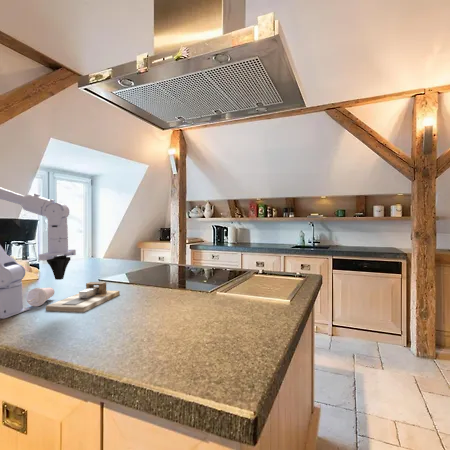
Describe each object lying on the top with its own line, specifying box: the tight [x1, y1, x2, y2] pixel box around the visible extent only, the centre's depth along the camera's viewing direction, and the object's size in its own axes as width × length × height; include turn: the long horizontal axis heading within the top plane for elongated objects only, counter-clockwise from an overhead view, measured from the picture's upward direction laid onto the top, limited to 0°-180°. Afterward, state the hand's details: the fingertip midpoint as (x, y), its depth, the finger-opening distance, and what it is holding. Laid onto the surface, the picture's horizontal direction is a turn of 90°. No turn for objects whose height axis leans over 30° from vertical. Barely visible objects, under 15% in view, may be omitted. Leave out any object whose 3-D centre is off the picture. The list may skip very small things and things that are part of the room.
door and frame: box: [45, 281, 121, 313], centre depth 107 cm, size 22×14×6 cm, turn 170°
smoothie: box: [26, 287, 55, 308], centre depth 105 cm, size 6×6×14 cm
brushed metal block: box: [78, 285, 99, 298], centre depth 110 cm, size 9×3×2 cm, turn 170°
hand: (59, 279), depth 98 cm, fingers closed
